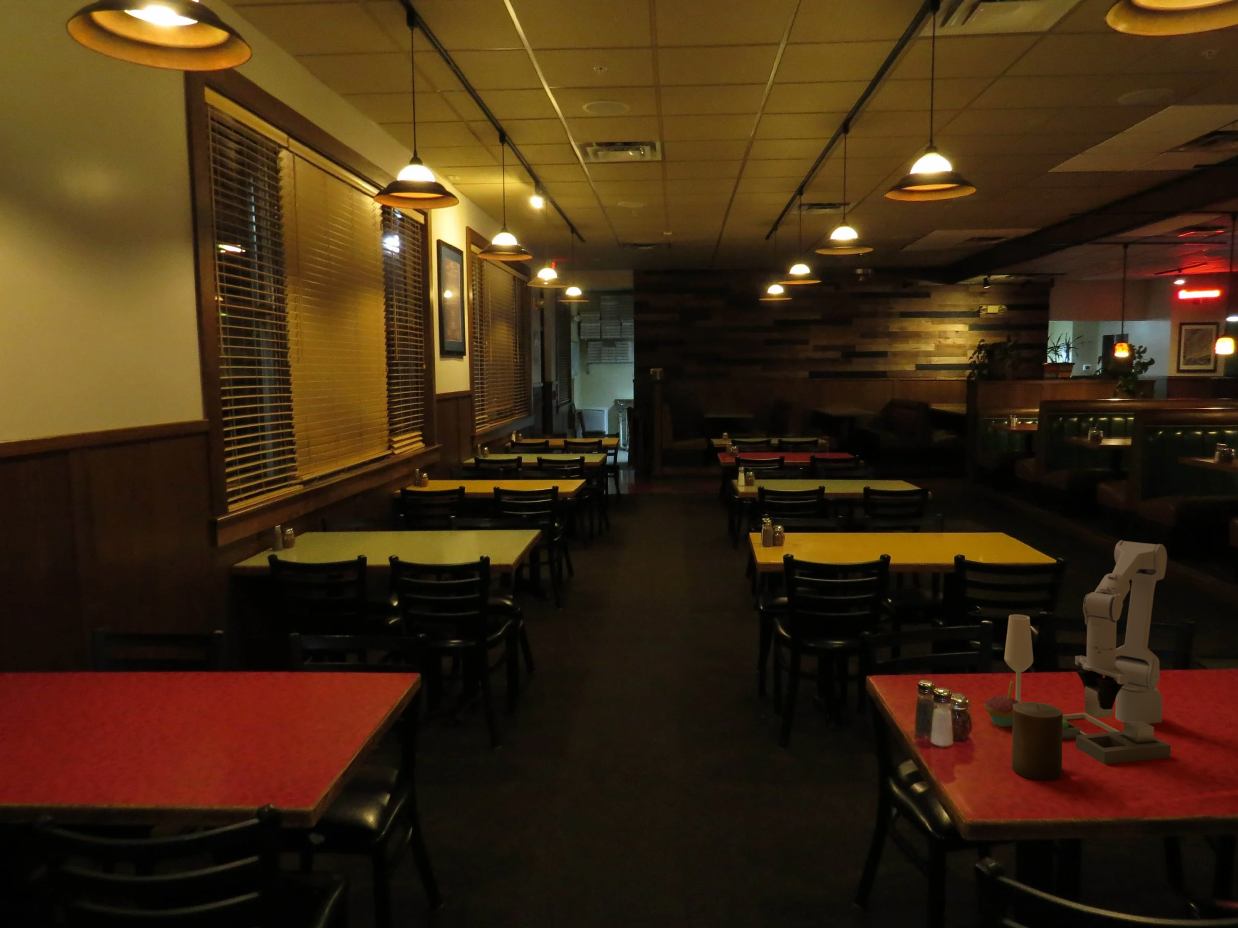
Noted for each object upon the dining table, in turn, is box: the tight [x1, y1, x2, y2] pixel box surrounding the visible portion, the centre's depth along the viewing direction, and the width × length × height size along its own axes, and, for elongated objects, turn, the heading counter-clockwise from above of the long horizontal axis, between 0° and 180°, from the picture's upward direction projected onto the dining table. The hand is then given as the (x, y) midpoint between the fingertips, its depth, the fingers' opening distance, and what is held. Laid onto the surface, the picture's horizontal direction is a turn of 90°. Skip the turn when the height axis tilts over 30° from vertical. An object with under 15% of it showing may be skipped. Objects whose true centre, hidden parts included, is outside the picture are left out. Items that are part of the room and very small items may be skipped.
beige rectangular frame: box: [1063, 712, 1119, 735], centre depth 202 cm, size 9×14×2 cm, turn 9°
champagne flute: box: [1003, 614, 1034, 703], centre depth 217 cm, size 7×7×24 cm
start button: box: [1062, 719, 1069, 729], centre depth 200 cm, size 4×4×4 cm
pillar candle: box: [1011, 701, 1064, 782], centre depth 182 cm, size 10×10×15 cm
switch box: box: [1062, 721, 1081, 740], centre depth 200 cm, size 6×6×3 cm
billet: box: [1084, 685, 1114, 719], centre depth 193 cm, size 4×4×6 cm
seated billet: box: [1123, 720, 1155, 745], centre depth 190 cm, size 4×4×6 cm
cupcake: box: [983, 677, 1019, 728], centre depth 207 cm, size 9×8×12 cm
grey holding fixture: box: [1075, 730, 1171, 765], centre depth 189 cm, size 16×9×4 cm, turn 99°
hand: (1099, 704), depth 193 cm, fingers closed on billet, 4 cm apart
